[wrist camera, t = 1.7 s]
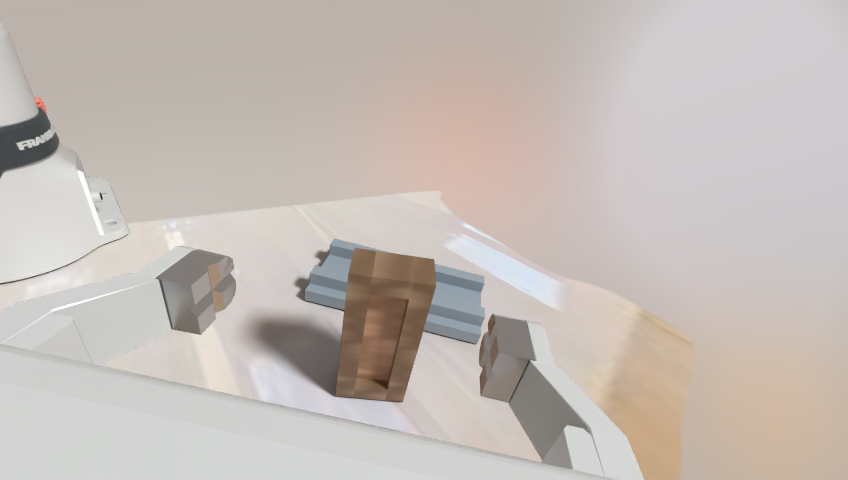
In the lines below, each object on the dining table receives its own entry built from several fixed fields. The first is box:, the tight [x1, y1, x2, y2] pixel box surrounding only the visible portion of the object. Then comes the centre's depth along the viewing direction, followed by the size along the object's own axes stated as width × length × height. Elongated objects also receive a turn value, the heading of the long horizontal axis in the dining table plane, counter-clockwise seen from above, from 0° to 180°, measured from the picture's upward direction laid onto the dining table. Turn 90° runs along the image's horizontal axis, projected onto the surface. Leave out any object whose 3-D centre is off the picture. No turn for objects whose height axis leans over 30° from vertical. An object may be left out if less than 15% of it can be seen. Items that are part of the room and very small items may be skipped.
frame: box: [335, 248, 436, 402], centre depth 28 cm, size 6×3×14 cm, turn 92°
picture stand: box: [305, 239, 485, 344], centre depth 42 cm, size 20×10×3 cm, turn 82°
